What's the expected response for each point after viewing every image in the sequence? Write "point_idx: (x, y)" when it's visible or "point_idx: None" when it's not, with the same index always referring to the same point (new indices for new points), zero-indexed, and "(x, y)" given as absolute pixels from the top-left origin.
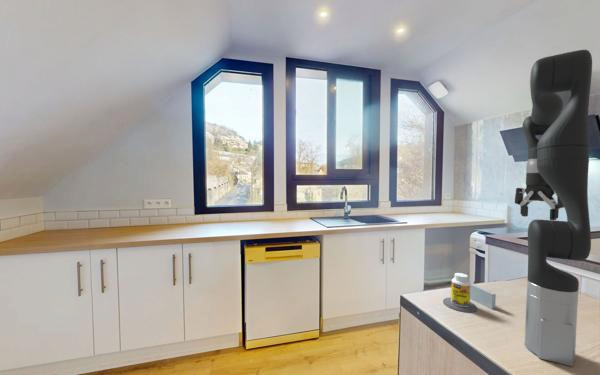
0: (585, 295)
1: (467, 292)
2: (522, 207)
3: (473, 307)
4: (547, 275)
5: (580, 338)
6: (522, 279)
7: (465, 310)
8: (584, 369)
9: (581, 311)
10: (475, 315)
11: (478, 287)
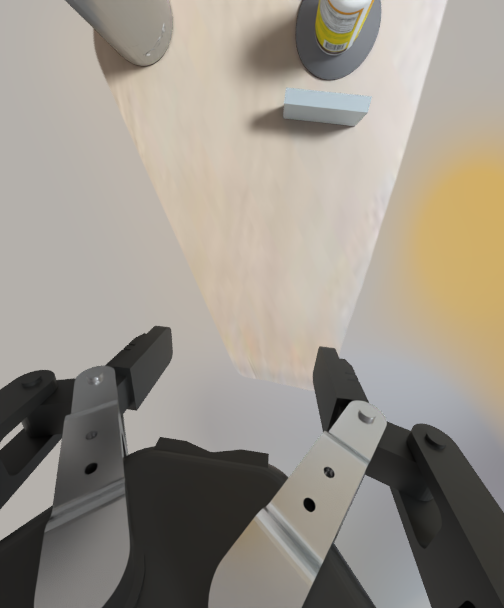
0: (244, 366)
1: None
2: (348, 391)
3: (308, 51)
4: None
5: (157, 157)
6: None
7: (307, 1)
8: None
9: (213, 285)
10: (283, 12)
11: (331, 99)
